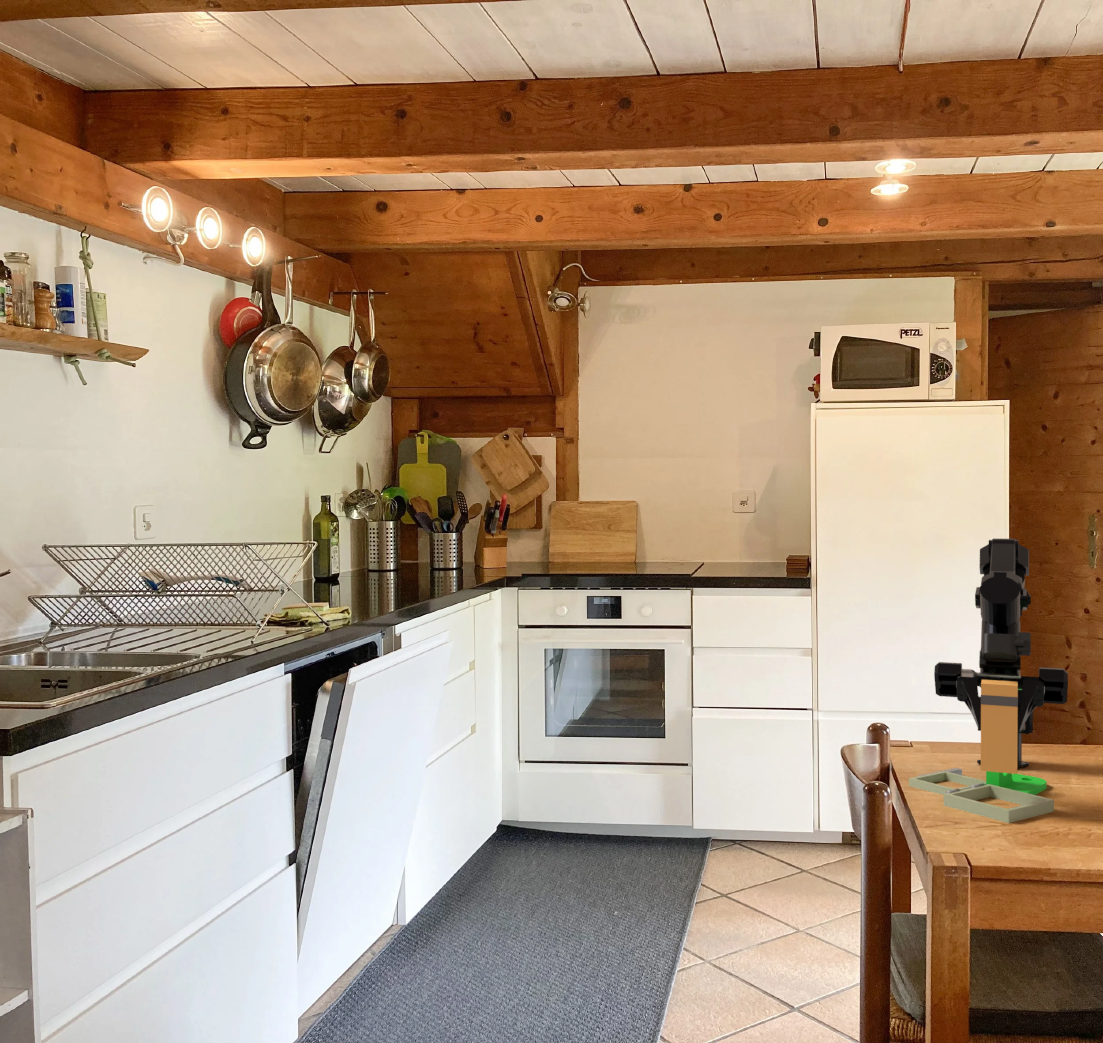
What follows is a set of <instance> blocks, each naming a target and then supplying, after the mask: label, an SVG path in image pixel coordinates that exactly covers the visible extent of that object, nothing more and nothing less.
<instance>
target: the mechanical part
mask: <svg viewBox="0 0 1103 1043" xmlns="http://www.w3.org/2000/svg"><path fill="white" fill-rule="evenodd" d="M985 781H986V785H987V784H991V785H995V786H999V787H1003V788H1007V789H1012V790H1016V791H1020V792H1024V793H1028V794H1032V795H1036V796H1037V794H1039V793H1041V792H1043V791H1045V790H1046V789H1047V788H1048V787H1047V785H1048V784H1047V780H1046V779H1044V778H1042V777H1041V778H1040V777H1038V776H1033V775H1026V774H1021V773H1020V774H1019V773H1017V774H1012V773H1001V772H990V771H985Z"/></svg>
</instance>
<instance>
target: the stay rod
mask: <svg viewBox="0 0 1103 1043" xmlns="http://www.w3.org/2000/svg"><path fill="white" fill-rule="evenodd" d="M943 771H946V772H950V773H955V774H959V775H963V768H960V767H954V768H953V767H952V768H948V769H943V770H939V771H938V770H937V771H933V772H929V773H924V774H918V775H917V777H918V776H923V775H928V774H933V773H938V772H943Z"/></svg>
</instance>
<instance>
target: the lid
mask: <svg viewBox="0 0 1103 1043" xmlns="http://www.w3.org/2000/svg"><path fill="white" fill-rule="evenodd" d="M932 773H933V772H932ZM927 774H928V773H927ZM922 775H923V774H922ZM942 781H946V782H947V781H948V782H952V783H956V784H960V785H965V786H962V787H958V788H957V787H956V789H960V790H964V789H969V788H971V786H972V785H977V784H981V783H983V784H984V785H986V780H983V779H978V778H975V777H970V776H967V775H963V774H962V775H959V774H955V773H950V772H946V771H943V772H938V773H933V774H928V775H923V776H918V775H917V776H913V777H909V778H908V786H909V787H911V788H915V789H918V790H922V791H927V792H930V793H933V794H938V795H942V796H944V794H946V791H949V790H954V789H955V788H953V787H950V786H945V785H941V784H938V782H942Z"/></svg>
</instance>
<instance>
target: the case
mask: <svg viewBox="0 0 1103 1043" xmlns="http://www.w3.org/2000/svg"><path fill="white" fill-rule="evenodd" d="M987 798H993V799H996V800H1001V801H1004V802H1009V803H1013V804H1017V805H1016V806H1013V807H1010V808H1006V807H1001V806H998V805H994V804H990V803H986V802H982V801H978V800H983V799H987ZM943 806H944V807H947V808H951V809H956V810H959V811H963V812H967V813H969V814H974V815H977V816H982V817H984V818H988V819H990V820H991V819H992V820H995V821H1000V822H1003V823H1006V824H1011V823H1015V822H1018V821H1022V820H1026V819H1027V820H1028V819H1030V818H1034V817H1038V816H1041V815H1045V814H1049V813H1054V812H1055V800H1054V799H1052V798H1048V797H1043V796H1040V795H1037V794H1036V795H1032V794H1028V793H1024V792H1020V791H1016V790H1012V789H1007V788H1003V787H999V786H995V785H991V784H987V785H984V784H983V783H981V784H977V785H972V786H971V788H969V789H964V790H960V789H957V788H954V790H949V791H946V794H944V795H943Z"/></svg>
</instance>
